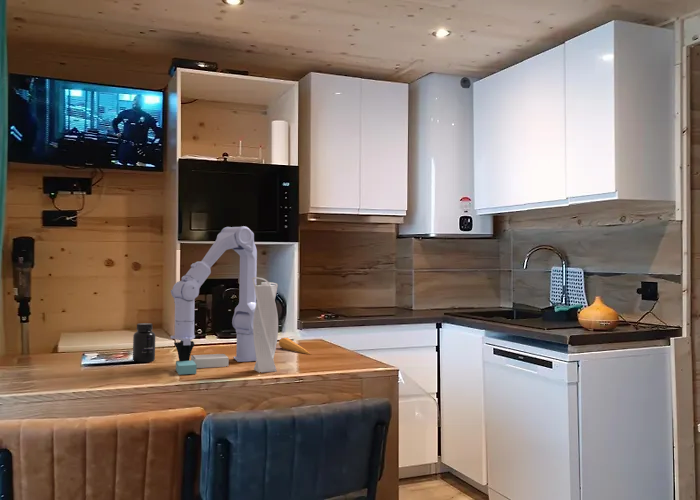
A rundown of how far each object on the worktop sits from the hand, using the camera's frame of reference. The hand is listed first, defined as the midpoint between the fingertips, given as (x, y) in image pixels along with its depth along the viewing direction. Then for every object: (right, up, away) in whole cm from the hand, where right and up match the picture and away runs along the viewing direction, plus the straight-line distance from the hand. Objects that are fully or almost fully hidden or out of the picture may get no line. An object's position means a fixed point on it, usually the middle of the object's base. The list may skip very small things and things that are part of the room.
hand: (184, 366), depth 187 cm
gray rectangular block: (+6, -1, +7) cm, 9 cm away
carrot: (+30, -2, +36) cm, 47 cm away
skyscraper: (+24, -1, -1) cm, 24 cm away
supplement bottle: (-16, -1, +13) cm, 21 cm away
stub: (+2, -1, -5) cm, 5 cm away
